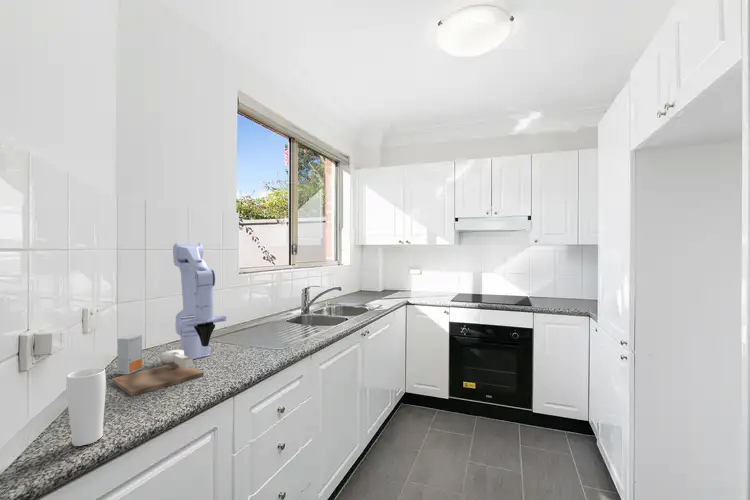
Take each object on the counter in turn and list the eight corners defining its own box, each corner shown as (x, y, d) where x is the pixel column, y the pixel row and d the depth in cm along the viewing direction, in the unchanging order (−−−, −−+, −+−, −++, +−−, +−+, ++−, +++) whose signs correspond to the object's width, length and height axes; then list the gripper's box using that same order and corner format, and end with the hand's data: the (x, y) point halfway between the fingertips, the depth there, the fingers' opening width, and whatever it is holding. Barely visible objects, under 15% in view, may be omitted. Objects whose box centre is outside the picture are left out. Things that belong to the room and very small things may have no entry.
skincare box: (128, 375, 122) (127, 339, 122) (117, 374, 123) (116, 338, 123) (143, 369, 128) (142, 334, 128) (132, 368, 129) (131, 334, 129)
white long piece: (157, 360, 125) (157, 352, 125) (179, 355, 131) (178, 348, 131) (178, 369, 115) (177, 361, 115) (200, 364, 120) (200, 356, 120)
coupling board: (180, 365, 131) (180, 355, 131) (203, 375, 120) (203, 365, 120) (112, 382, 116) (111, 371, 116) (131, 396, 104) (131, 383, 104)
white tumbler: (82, 434, 83) (80, 368, 82) (114, 432, 83) (112, 366, 83) (59, 451, 76) (57, 378, 76) (93, 448, 76) (92, 377, 76)
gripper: (187, 309, 116) (188, 352, 116) (230, 303, 127) (231, 342, 127) (177, 307, 120) (178, 349, 121) (220, 302, 132) (221, 340, 132)
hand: (205, 345), depth 124 cm, fingers closed
